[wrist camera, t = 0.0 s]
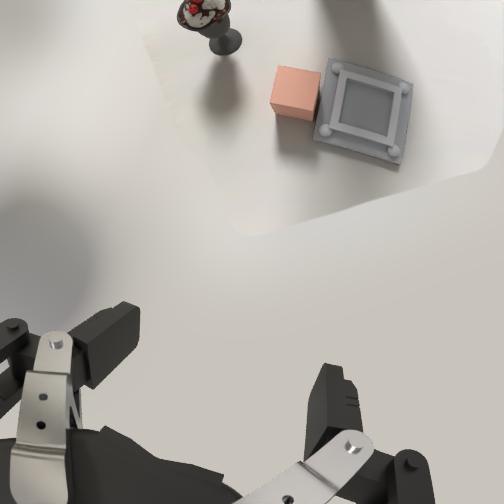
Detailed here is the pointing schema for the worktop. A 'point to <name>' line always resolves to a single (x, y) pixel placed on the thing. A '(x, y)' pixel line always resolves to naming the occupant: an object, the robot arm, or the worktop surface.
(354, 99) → the plate
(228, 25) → the sundae
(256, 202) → the worktop surface
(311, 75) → the block
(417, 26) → the worktop surface
